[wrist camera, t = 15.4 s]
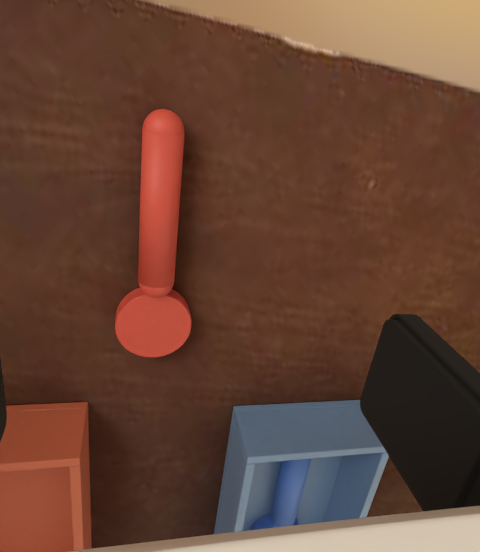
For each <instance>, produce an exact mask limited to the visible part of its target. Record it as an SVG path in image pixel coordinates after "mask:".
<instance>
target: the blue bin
mask: <svg viewBox="0 0 480 552" xmlns="http://www.w3.org/2000/svg"><path fill="white" fill-rule="evenodd" d="M388 457H389V455H388V454H387V452H386V450H385V449H384V447H383V446H382V444H381V442H380V441H379V439H378V438H377V436H376V434H375V433H374V431H373V430H372V428H371V426H370V425H369V423H368V422H367V420H366V418H365V417H364V415H363V413H362V411H361V408H360V400H345V401H325V402H306V403H286V404H267V405H247V406H234V407H233V413H232V420H231V426H230V432H229V439H228V445H227V452H226V458H225V465H224V471H223V478H222V484H221V491H220V497H219V503H218V510H217V516H216V523H215V529H214V534H221V533H230V532H239V531H248V530H250V528H251V527H252V525H253V524H254V523H255V522H256V521H257V520H259V519H260V518H262V517H263V516H266V515H268V514H271V509H272V505H273V500H274V496H275V492H276V487H277V483H278V479H279V475H280V470H281V466H282V462H283V461H288V460H300V459H311V458H312V459H311V462H310V466H309V470H308V474H307V477H306V481H305V485H304V488H303V492H302V496H301V499H300V503H299V507H298V511H297V514H296V518H297V520H298V523H299V525H302V524H311V523H320V522H329V521H338V520H347V519H357V518H366V516H367V514H368V511H369V508H370V506H371V503H372V500H373V498H374V495H375V492H376V490H377V487H378V484H379V482H380V479H381V476H382V473H383V471H384V468H385V465H386V463H387V460H388Z"/></svg>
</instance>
